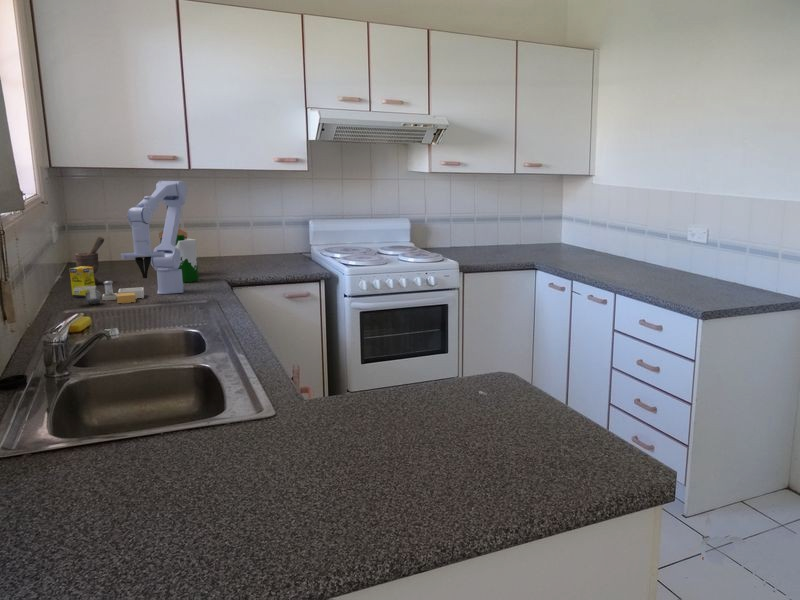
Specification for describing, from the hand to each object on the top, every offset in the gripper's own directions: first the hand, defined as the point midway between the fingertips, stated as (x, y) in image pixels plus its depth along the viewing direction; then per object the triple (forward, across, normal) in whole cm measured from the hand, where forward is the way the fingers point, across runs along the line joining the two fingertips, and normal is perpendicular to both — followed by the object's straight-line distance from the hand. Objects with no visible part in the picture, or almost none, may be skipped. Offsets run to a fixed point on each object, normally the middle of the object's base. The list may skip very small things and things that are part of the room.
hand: (145, 277), depth 223 cm
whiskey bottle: (+8, +12, +51) cm, 53 cm away
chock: (+9, -7, 0) cm, 11 cm away
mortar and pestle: (+8, -22, +44) cm, 50 cm away
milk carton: (+8, +16, +36) cm, 40 cm away
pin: (+8, -13, +8) cm, 17 cm away
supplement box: (+9, -22, +18) cm, 30 cm away
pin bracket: (+8, -13, +8) cm, 17 cm away
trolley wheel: (+8, -19, 0) cm, 21 cm away
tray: (+8, -6, +8) cm, 12 cm away
